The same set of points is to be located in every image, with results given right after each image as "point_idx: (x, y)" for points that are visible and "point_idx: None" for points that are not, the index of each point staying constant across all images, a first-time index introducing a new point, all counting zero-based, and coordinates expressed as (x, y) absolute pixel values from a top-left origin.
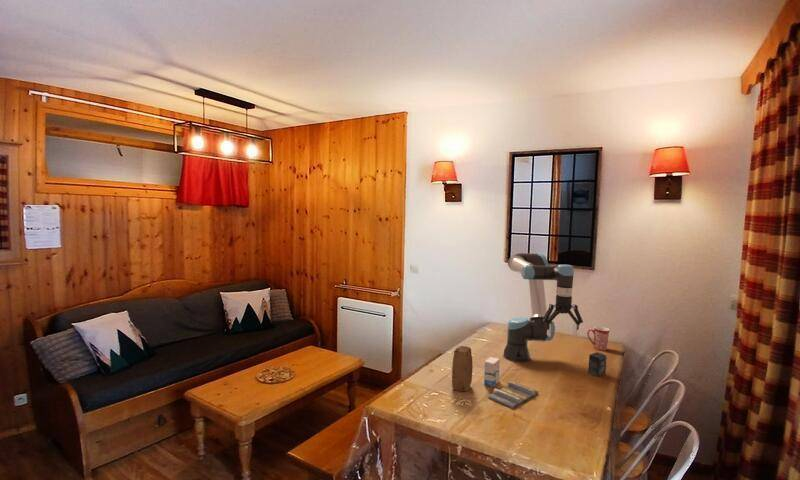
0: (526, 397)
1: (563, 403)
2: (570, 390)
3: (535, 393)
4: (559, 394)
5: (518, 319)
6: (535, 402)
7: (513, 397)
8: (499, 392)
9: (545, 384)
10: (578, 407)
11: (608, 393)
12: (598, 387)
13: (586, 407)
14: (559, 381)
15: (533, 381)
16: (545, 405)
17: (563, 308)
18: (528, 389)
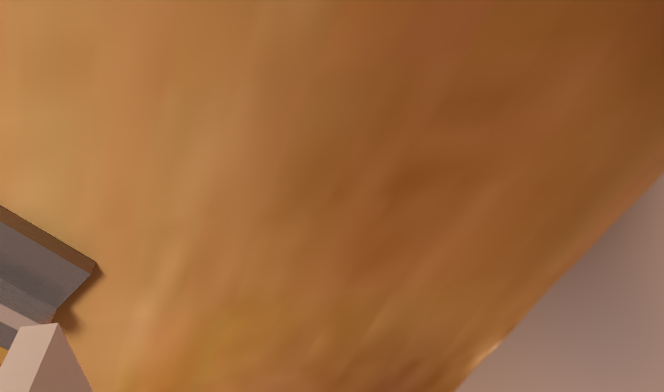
0: (5, 351)
1: (241, 344)
2: (357, 183)
3: (68, 295)
4: (250, 249)
5: None
6: None
7: None
8: None
9: (177, 105)
10: (315, 369)
11: (629, 193)
12: (625, 104)
13: (362, 364)
14: (327, 25)
15: (73, 57)
16: (126, 373)
17: None
18: (6, 322)
